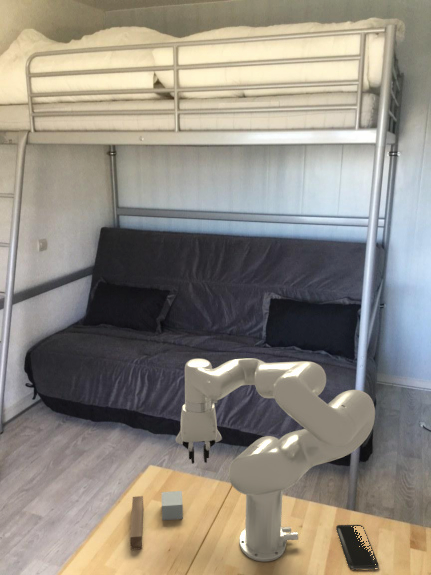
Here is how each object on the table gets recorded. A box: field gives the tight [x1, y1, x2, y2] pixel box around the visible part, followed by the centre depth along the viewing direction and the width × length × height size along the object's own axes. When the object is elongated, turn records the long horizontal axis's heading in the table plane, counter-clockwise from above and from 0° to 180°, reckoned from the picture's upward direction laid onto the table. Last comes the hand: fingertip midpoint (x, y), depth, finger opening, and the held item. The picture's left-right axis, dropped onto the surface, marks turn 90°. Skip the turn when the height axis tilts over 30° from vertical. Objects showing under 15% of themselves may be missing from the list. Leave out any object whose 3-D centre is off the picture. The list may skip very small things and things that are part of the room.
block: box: [161, 490, 184, 521], centre depth 146 cm, size 6×6×5 cm
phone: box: [335, 524, 380, 571], centre depth 134 cm, size 8×1×15 cm
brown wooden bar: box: [129, 495, 144, 550], centre depth 140 cm, size 3×16×4 cm, turn 7°
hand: (198, 459), depth 143 cm, fingers open, 3 cm apart
